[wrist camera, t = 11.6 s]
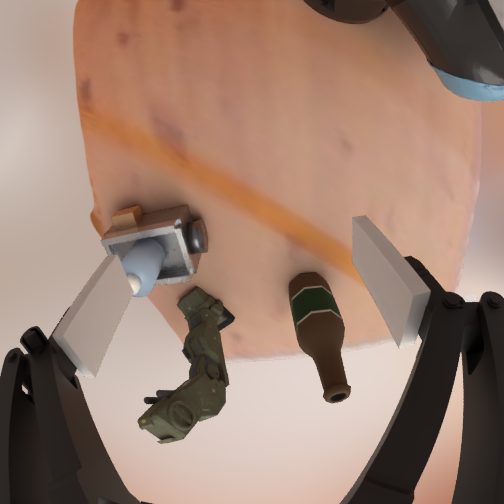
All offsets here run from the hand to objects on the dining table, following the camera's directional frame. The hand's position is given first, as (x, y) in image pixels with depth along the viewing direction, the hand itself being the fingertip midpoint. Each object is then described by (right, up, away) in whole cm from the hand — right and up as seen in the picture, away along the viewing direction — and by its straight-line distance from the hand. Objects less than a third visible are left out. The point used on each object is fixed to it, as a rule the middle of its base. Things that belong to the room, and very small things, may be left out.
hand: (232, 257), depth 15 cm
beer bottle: (+11, -6, +37) cm, 39 cm away
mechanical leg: (-8, -10, +38) cm, 40 cm away
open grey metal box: (-14, +4, +30) cm, 33 cm away
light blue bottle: (-15, 0, +25) cm, 29 cm away
